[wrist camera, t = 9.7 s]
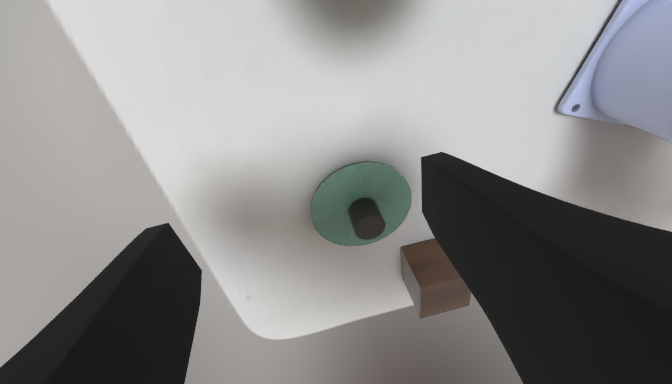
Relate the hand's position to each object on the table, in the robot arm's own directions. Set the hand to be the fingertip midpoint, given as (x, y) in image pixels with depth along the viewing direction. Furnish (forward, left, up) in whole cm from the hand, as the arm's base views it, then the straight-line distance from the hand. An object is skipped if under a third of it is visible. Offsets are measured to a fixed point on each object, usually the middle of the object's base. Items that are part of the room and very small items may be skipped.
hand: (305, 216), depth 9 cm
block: (-13, +11, -10) cm, 20 cm away
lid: (-6, +6, -9) cm, 13 cm away
